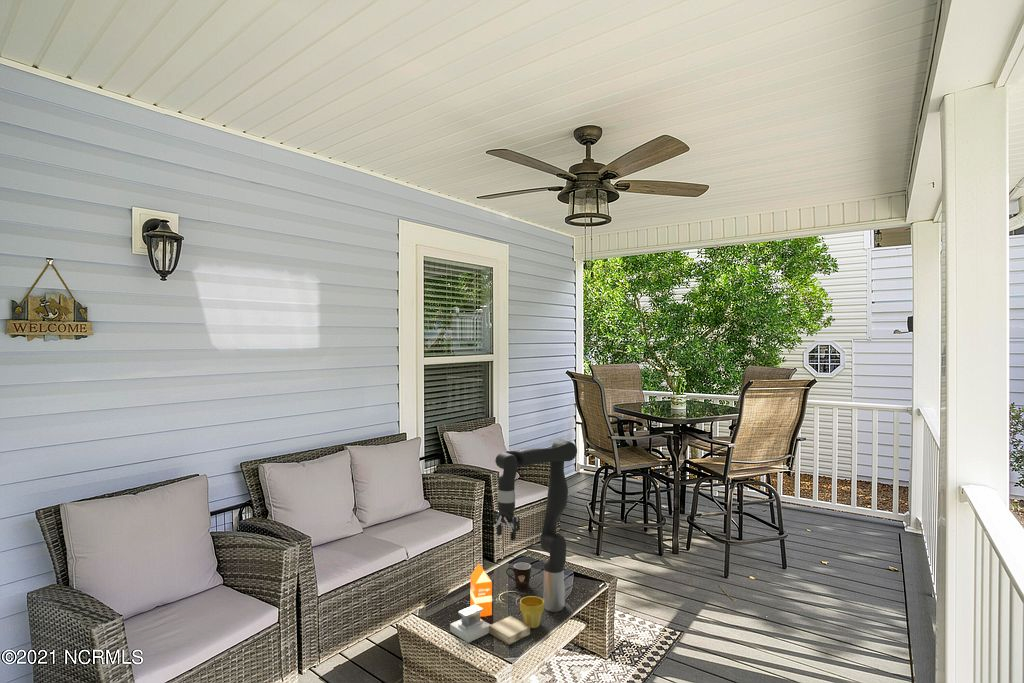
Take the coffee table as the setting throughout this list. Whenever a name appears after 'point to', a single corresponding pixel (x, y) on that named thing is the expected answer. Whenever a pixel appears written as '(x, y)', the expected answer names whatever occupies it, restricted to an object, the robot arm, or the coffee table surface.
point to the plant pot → (532, 610)
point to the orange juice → (481, 591)
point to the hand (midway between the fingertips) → (506, 537)
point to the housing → (470, 617)
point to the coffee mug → (521, 575)
